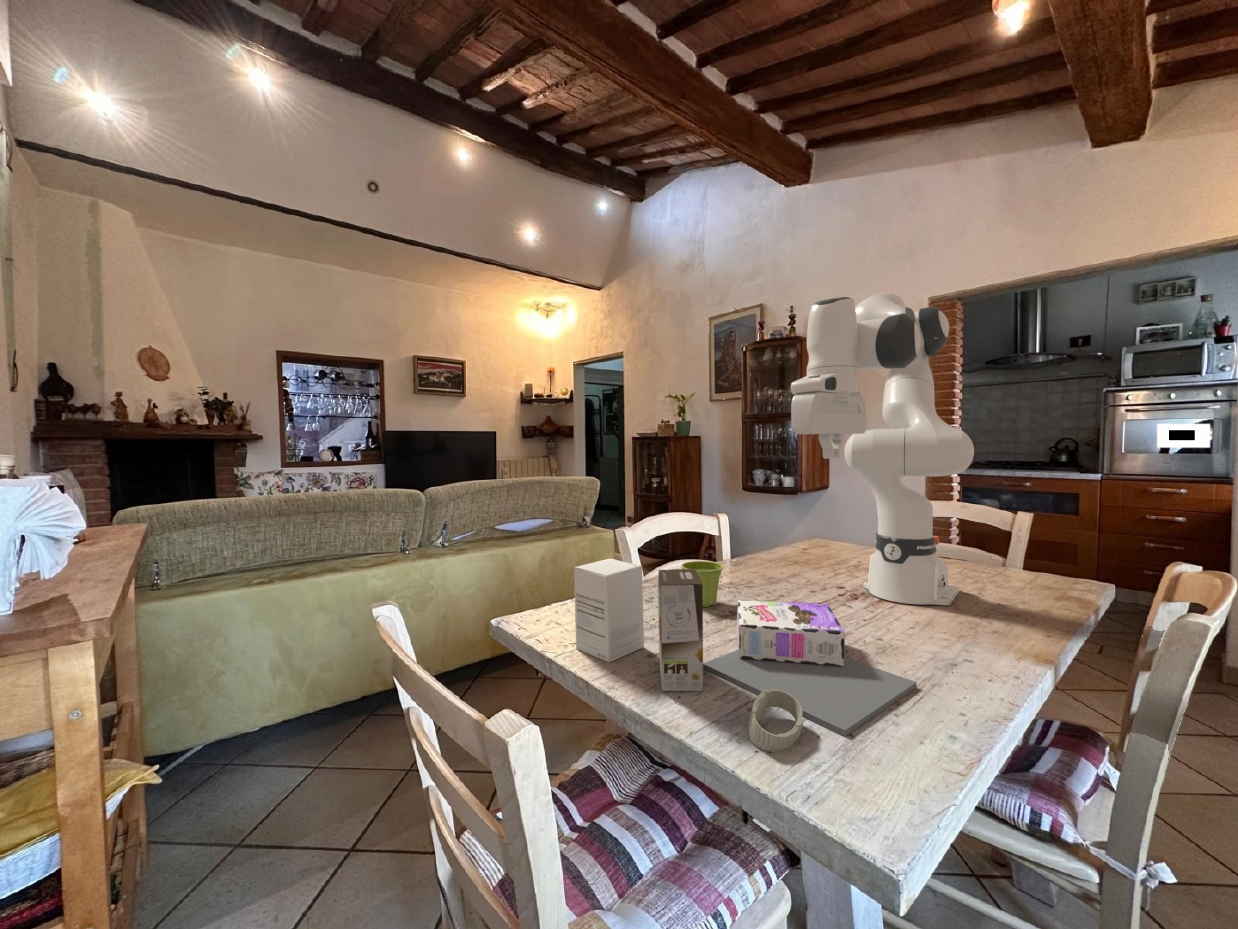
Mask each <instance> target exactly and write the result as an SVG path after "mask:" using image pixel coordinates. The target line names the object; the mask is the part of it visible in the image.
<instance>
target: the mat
mask: <svg viewBox="0 0 1238 929" xmlns="http://www.w3.org/2000/svg"><path fill="white" fill-rule="evenodd" d="M703 670H706V671H707V672H709V673H711V674H713V675H716V676H717V677H720V678H722V679H723V680H726V681H728V682H730V683H733V684H734V685H736V686H739V687H740V688H743V689H744V690H747V691H749V692H751V693H753V694H755V695H756V696H759V694H760V693H761V692H762V691H763V690H768V691H769V690H772V689H775V690H776V689H777V690H781V691H784V692H786V693H788V694H790V695H792V697H794V698H795V699H796V700H797V701H798V702H799V703H800V705H801V708H802V718H805V719H806V720H809V721H811V722H813V723H815V724H818V725H819V726H821V727H824V728H826V729H828V730H830V731H832V732H834V733H837V734H838V735H841V736H843V737H844V738H845V737H847V736H848V735H849V734H851V733H853V732H854V731H855V730H857V729H858V728H860V727H861V726H862V725H864V724H865V723H867V722H869V721H870V720H872V718H874V717H876V716H877V715H879V714H880V713H881V712H883V711H885V710H886V709H887V708H889V707H890V706H892V705H894V704H895V703H896V702H898V701H900V700H901V699H902V698H904V697H905V696H906V695H908V694H909V693H911V692H912V691H913V690H915V689H917V687H918V686H917V685H918V684H917V683H918V682H917V681H914V680H911V679H909V678H907V677H903V676H900V675H897V674H894V673H892V672H889V671H886V670H882V669H881V668H878V667H875V666H871V665H869V664H866V663H862V662H860V661H857V660H854V659H851V658H848V657H846V656H844V666H831V665H818V664H808V663H793V662H780V661H768V660H756V659H744V658H739V648H738V649H735V650H734V651H731V652H729V653H726V654H723V655H721V656H718V657H716V658H713V659H711V660H709V661H708V660H707V661H706V662H703Z"/></svg>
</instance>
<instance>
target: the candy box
mask: <svg viewBox="0 0 1238 929" xmlns="http://www.w3.org/2000/svg"><path fill="white" fill-rule="evenodd" d="M736 610H737V614H736V617H737V618H736V625H737V626H736V629H737V630H736V632H737V645H738V649H739V658H744V659H756V660H768V661H780V662H793V663H808V664H818V665H831V666H844V657H845V643H846V638H845V635H846V634H845V630H844V629H843V627H842V626H841V624H840V622H839V620H838V618H837V616H836V615H835V614H834V612H833V609H831V607H830V606H829V604H828V603H813V602H812V603H811V602H789V601H788V602H787V601H768V600H750V599H749V600H746V599H745V600H744V599H738V600H737V609H736Z"/></svg>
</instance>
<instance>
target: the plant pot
mask: <svg viewBox="0 0 1238 929" xmlns="http://www.w3.org/2000/svg"><path fill="white" fill-rule="evenodd" d="M680 568H681V569H696V571H697V573H698V576H699V578H700V580H701V582H702V584H703V608H708V607H710V606H716V604H717V599H718V589H719V582H720V577H721V575H722V570H723V569H724V565H723V564H721V563H719V562H714V561H706V560H693V561H686V562H683V563H681V564H680Z"/></svg>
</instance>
